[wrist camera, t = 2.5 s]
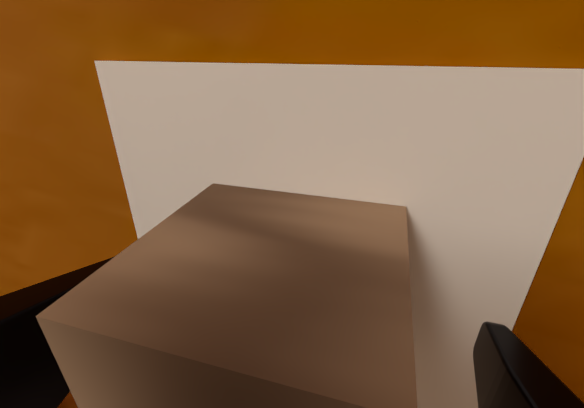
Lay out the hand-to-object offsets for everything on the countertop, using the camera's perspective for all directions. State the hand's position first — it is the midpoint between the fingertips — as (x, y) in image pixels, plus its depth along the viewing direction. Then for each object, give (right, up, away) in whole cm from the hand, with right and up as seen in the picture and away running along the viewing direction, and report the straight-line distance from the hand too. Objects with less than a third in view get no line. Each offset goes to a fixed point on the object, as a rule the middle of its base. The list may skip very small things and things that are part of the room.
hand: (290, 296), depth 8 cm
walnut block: (0, 0, +1) cm, 1 cm away
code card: (0, 0, +1) cm, 1 cm away
